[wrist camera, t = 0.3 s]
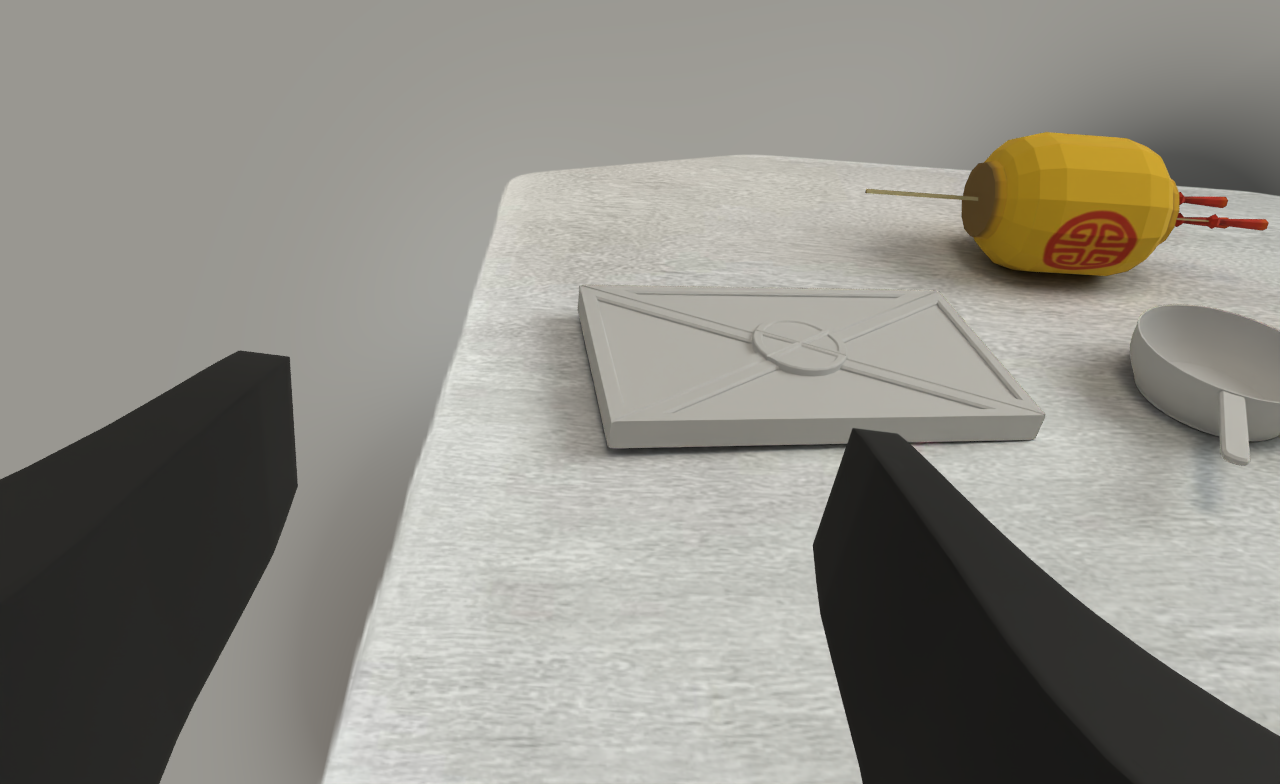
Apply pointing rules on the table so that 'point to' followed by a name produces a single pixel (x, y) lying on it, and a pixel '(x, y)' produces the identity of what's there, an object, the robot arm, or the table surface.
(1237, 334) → the saucepan
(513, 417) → the table surface
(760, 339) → the envelope
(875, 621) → the robot arm
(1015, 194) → the lantern
